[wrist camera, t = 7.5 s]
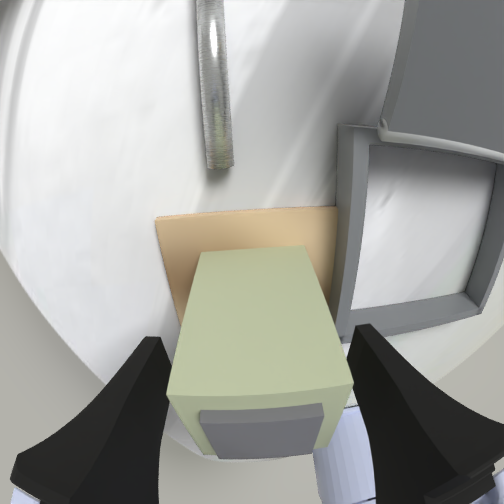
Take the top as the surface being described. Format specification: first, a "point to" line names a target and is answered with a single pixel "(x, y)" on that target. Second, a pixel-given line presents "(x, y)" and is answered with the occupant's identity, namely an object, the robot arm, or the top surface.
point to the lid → (448, 78)
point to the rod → (214, 83)
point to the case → (350, 238)
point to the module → (258, 357)
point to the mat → (245, 240)
